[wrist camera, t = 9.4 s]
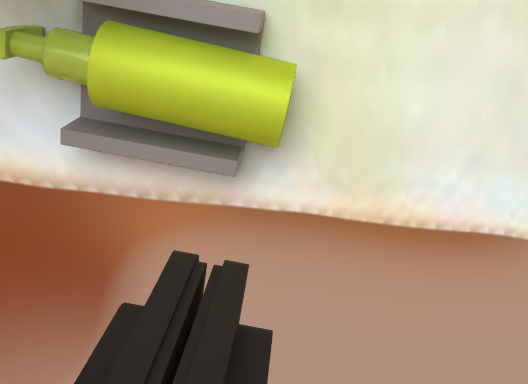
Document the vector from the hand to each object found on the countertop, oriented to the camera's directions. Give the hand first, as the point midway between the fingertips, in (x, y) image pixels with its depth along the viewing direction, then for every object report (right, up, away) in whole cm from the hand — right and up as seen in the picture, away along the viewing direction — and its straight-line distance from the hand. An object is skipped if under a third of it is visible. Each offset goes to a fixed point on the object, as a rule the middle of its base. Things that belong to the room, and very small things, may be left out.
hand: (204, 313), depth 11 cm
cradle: (-6, +12, +27) cm, 31 cm away
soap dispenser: (+3, +9, +24) cm, 26 cm away
